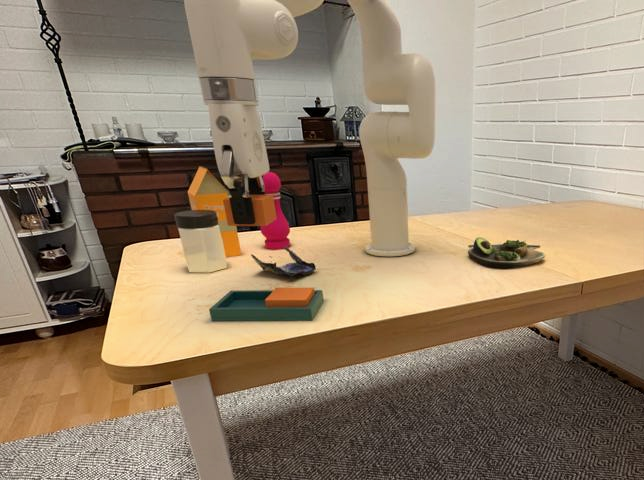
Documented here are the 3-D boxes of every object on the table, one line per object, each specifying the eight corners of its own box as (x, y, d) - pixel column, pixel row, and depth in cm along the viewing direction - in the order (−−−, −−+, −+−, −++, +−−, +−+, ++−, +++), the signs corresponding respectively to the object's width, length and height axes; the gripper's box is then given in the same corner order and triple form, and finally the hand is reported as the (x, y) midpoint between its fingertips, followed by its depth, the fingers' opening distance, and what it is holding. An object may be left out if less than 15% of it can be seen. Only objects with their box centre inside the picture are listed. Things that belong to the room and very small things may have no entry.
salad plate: (521, 245, 126) (522, 228, 124) (563, 262, 112) (565, 242, 110) (457, 253, 118) (457, 235, 116) (494, 271, 104) (495, 251, 102)
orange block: (241, 219, 80) (236, 194, 78) (276, 219, 80) (273, 194, 78) (227, 225, 74) (222, 199, 72) (266, 225, 74) (261, 199, 73)
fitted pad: (278, 300, 85) (276, 287, 84) (315, 300, 85) (314, 287, 84) (267, 314, 79) (264, 300, 78) (307, 313, 79) (305, 299, 78)
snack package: (299, 263, 109) (248, 271, 102) (298, 237, 106) (246, 243, 99) (323, 284, 102) (271, 294, 95) (323, 256, 99) (269, 264, 92)
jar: (230, 270, 104) (218, 214, 98) (189, 275, 100) (174, 217, 95) (225, 260, 111) (214, 208, 105) (186, 265, 107) (173, 211, 102)
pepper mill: (282, 242, 128) (270, 163, 119) (297, 246, 124) (286, 164, 115) (258, 246, 123) (243, 164, 114) (273, 251, 119) (259, 166, 110)
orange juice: (208, 259, 112) (187, 169, 102) (200, 251, 118) (180, 166, 109) (242, 254, 116) (225, 167, 107) (233, 247, 122) (216, 165, 113)
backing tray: (233, 301, 86) (230, 290, 85) (323, 300, 87) (322, 289, 86) (211, 321, 78) (208, 309, 77) (312, 320, 78) (310, 308, 77)
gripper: (234, 91, 61) (258, 230, 69) (273, 97, 76) (289, 211, 85) (176, 90, 61) (207, 230, 69) (226, 96, 76) (247, 211, 84)
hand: (252, 218), depth 77 cm, fingers closed on orange block, 6 cm apart
